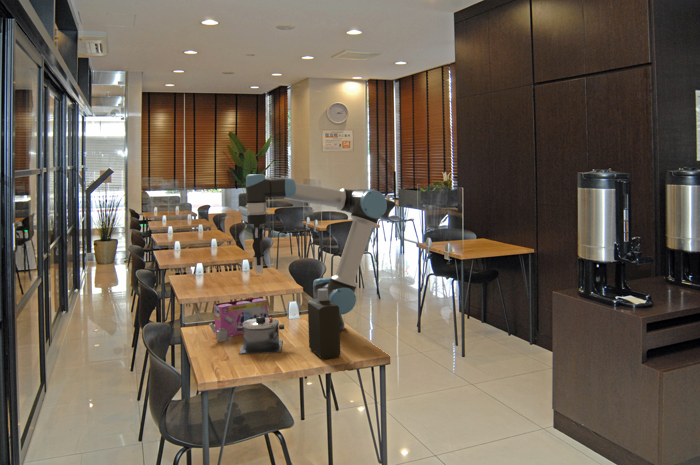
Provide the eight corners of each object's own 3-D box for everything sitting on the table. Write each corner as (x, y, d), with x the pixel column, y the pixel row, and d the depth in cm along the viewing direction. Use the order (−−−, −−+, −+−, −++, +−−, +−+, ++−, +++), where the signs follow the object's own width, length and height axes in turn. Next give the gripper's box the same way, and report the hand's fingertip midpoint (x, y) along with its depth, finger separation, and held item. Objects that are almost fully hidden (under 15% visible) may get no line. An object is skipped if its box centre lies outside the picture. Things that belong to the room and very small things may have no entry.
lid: (280, 319, 231) (279, 312, 230) (277, 329, 216) (277, 321, 215) (245, 320, 230) (244, 313, 229) (240, 330, 215) (240, 322, 215)
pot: (286, 339, 234) (285, 317, 233) (283, 352, 216) (282, 329, 215) (241, 340, 232) (240, 319, 232) (235, 354, 215) (234, 330, 214)
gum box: (264, 325, 257) (263, 296, 256) (272, 328, 251) (271, 299, 249) (214, 334, 244) (213, 303, 243) (221, 338, 237) (219, 307, 236)
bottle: (321, 360, 205) (319, 294, 203) (308, 348, 220) (306, 286, 218) (341, 357, 208) (340, 292, 206) (327, 346, 223) (325, 284, 221)
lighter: (227, 339, 235) (226, 321, 234) (227, 340, 233) (226, 322, 232) (210, 341, 233) (209, 322, 232) (210, 342, 231) (209, 323, 231)
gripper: (249, 212, 224) (251, 270, 226) (245, 215, 211) (248, 276, 213) (267, 212, 224) (270, 269, 227) (265, 214, 211) (267, 275, 214)
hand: (259, 273), depth 220 cm, fingers closed
